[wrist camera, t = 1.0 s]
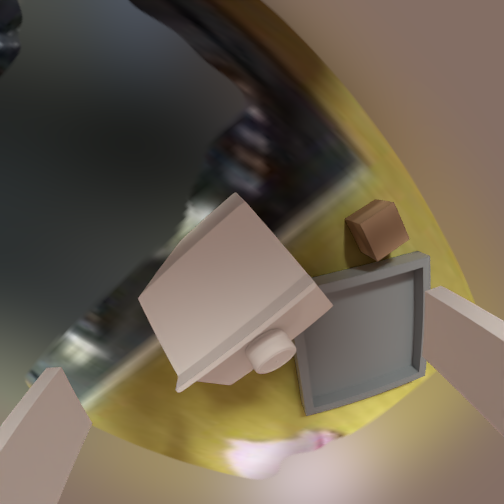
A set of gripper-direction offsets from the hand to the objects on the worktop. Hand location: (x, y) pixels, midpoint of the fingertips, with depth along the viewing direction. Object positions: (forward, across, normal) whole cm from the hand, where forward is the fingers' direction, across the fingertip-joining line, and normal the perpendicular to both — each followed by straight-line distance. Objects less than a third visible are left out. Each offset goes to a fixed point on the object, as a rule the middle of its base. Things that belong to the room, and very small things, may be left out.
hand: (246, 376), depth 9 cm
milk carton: (+21, 0, 0) cm, 21 cm away
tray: (+21, +12, -13) cm, 27 cm away
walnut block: (+21, +14, -1) cm, 25 cm away
